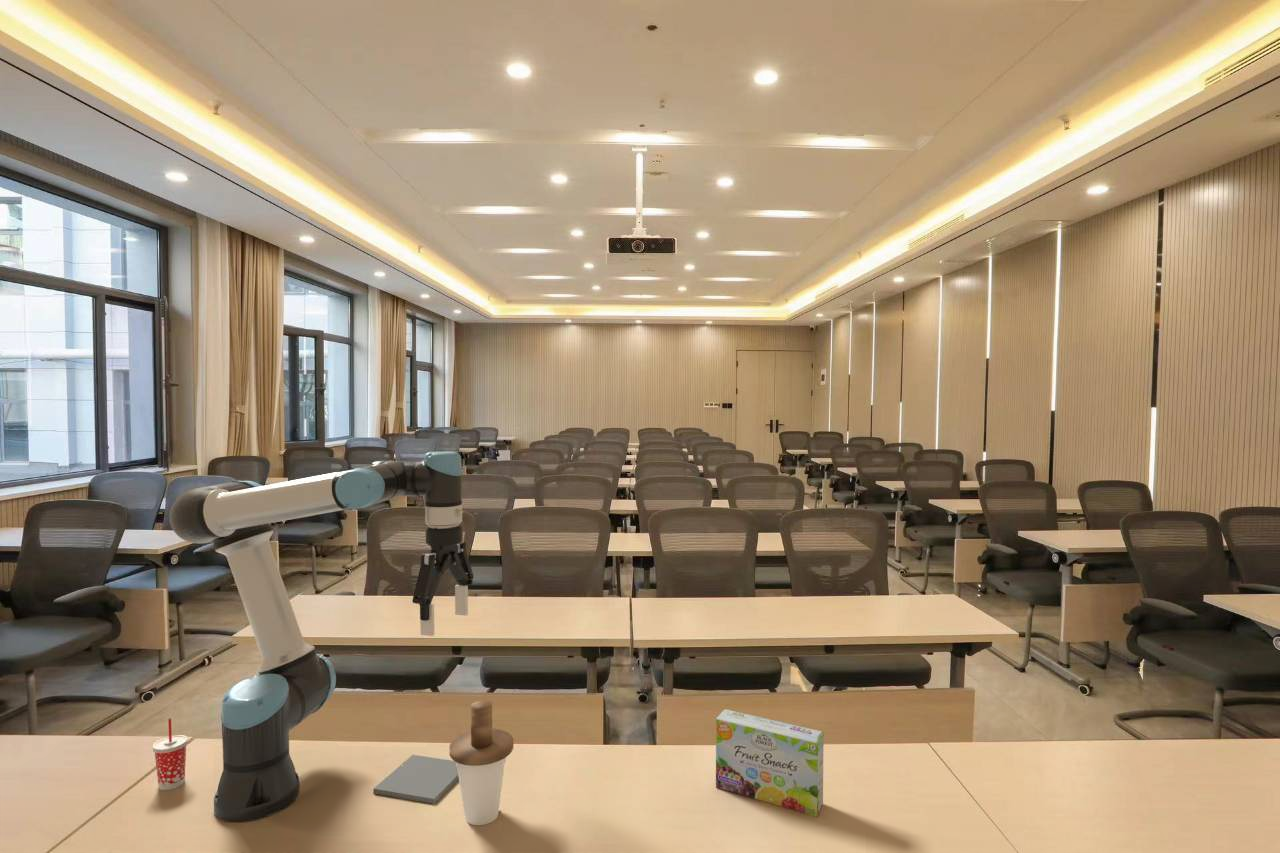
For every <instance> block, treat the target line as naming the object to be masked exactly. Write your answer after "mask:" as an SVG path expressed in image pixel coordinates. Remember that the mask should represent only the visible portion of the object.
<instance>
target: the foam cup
mask: <svg viewBox="0 0 1280 853" xmlns="http://www.w3.org/2000/svg"><path fill="white" fill-rule="evenodd" d="M506 761H507V757H506V758H504V759H502V760H500V761H498V762H495V763H492V764H487V765H480V766H469V765H463V764H459V763H457V762H456V767H457V769H458V775H459V779H458V781H459V787H460V788H459V789H460V795H461V802H462V807H463V809H462V810H463V814H464V815H463V816H464V819H465V821H466V823H468V824H470V825H472V826H485V825H488V824H490V823H492V822H494V821H495V820H496V819H497V818H498V817H499V813H500V812H499V810H500V803H501V794H502V793H501V792H502V786H503V777H504V771H505V770H504V769H505V764H506Z"/></svg>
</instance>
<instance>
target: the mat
mask: <svg viewBox="0 0 1280 853" xmlns="http://www.w3.org/2000/svg"><path fill="white" fill-rule="evenodd" d="M402 765H403V766H402ZM457 781H459V775H458V769H457V767H456V762H455V761H454V760H452V759H451V760H450V759H445V758H444V759H443V758H437V757H432V756H423V755H417V754H412V755H411V756H409V757H408V758H407V759H406V760H405V761H404V762H402V764H400V765H399V766H398V767H397V768H395V769H394V770H393V771H392V772H391V773H389V775H388V776H386V777H384V779H383V780H382V781H380V782H379V783H378V784H377V785H376V786H374V787H373V789H372V790H373V791H372V792H373V793H372V794H373V795H374V794H375V795H379V796H380V795H382V796H387V797H394V798H398V799H404V800H409V801H410V800H411V801H417V802H421V803H428V804H436V803H437V801H439V799H440V798H442V796H443V795H444V794H445V793H447V791H448V790H449V789H450V788H452V786H453V785H454V784H455V783H456V782H457Z"/></svg>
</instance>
